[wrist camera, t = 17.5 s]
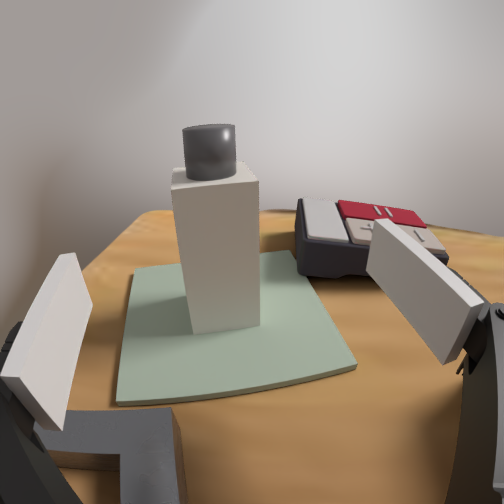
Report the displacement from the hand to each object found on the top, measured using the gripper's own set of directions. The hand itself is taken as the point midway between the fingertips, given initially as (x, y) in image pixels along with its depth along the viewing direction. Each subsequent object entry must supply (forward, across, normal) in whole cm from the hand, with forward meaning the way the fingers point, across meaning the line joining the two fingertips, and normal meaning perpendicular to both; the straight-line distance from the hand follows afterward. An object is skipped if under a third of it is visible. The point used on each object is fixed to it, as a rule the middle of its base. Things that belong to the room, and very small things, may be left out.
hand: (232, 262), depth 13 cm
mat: (+8, 0, -10) cm, 13 cm away
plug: (+8, 0, -10) cm, 13 cm away
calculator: (+15, +16, -10) cm, 24 cm away
